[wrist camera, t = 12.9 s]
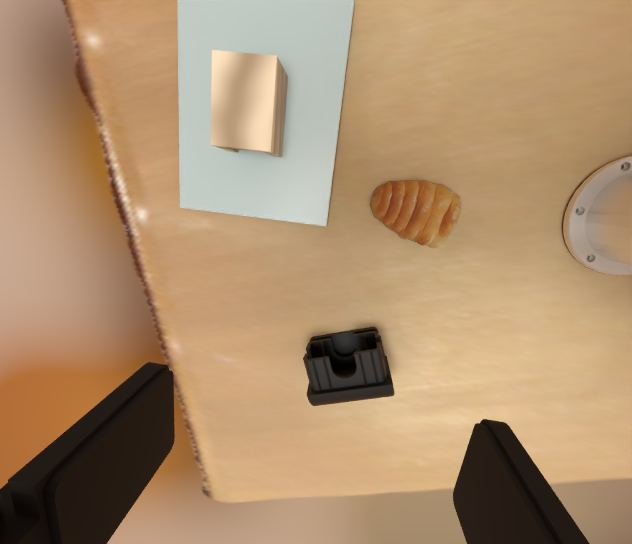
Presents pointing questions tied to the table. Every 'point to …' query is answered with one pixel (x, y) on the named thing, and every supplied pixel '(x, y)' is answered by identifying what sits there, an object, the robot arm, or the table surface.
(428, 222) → the pastry
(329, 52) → the base plate
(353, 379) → the end cap
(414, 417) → the table surface
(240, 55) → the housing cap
